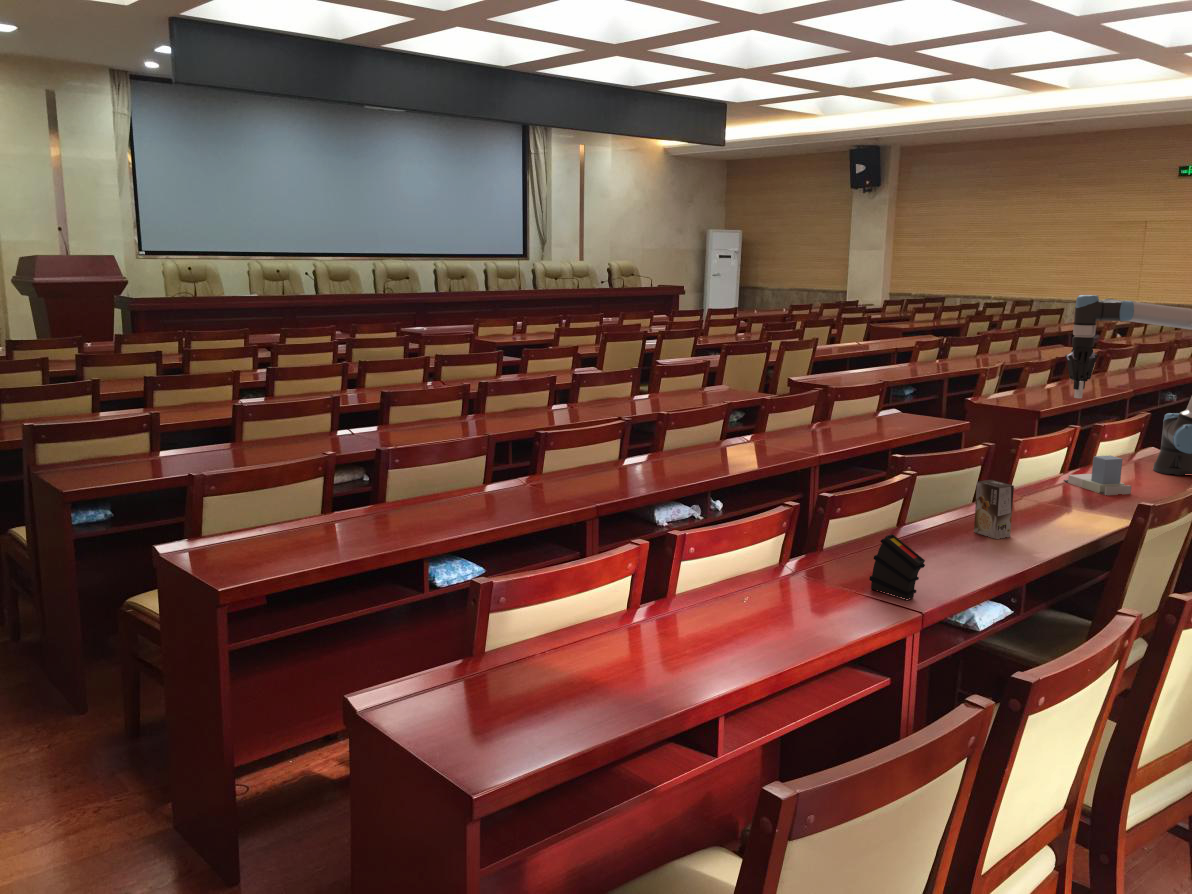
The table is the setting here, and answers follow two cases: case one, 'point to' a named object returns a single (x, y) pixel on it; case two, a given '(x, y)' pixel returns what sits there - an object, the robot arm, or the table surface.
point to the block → (1106, 469)
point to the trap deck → (1098, 485)
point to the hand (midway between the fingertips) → (1078, 397)
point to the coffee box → (993, 509)
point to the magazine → (896, 568)
